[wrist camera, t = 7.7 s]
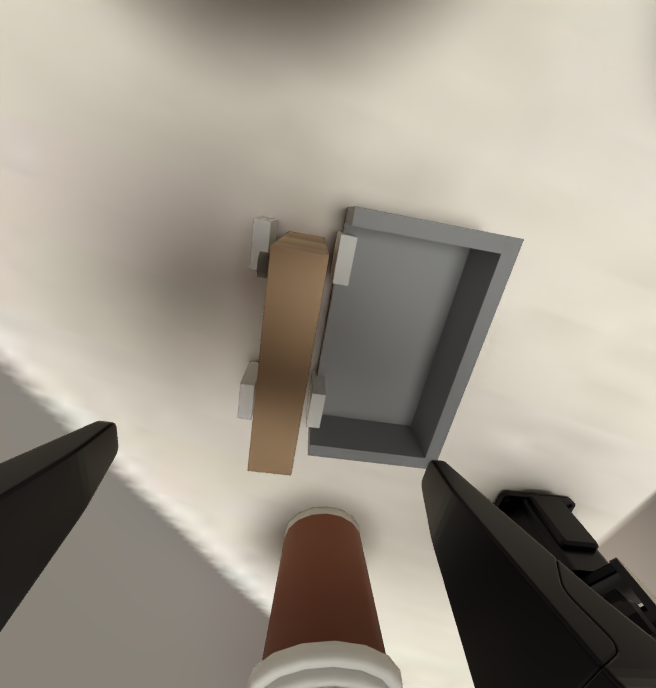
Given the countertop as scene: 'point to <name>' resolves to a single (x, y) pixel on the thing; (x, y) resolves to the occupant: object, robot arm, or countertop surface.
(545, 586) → the robot arm
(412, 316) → the carcass
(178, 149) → the countertop surface
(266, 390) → the door
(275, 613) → the coffee cup
